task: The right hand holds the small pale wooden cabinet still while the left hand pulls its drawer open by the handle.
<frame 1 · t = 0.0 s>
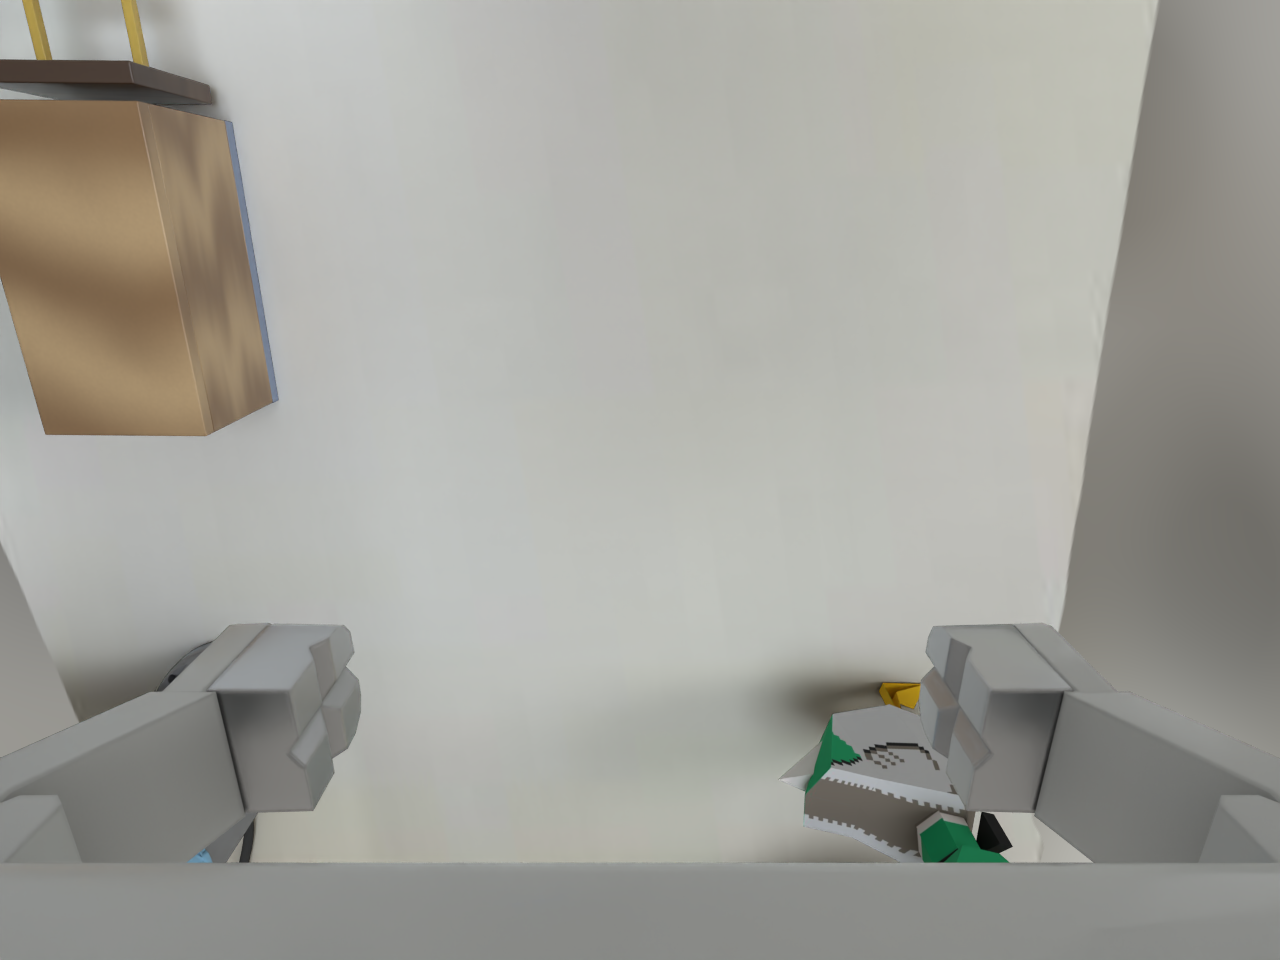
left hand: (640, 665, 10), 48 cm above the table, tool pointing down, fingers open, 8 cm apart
toy: (855, 703, 68), on the table
drawer: (122, 188, 48), point 5 cm above the table, slide at 1.0 cm
cabinet: (184, 269, 55), on the table
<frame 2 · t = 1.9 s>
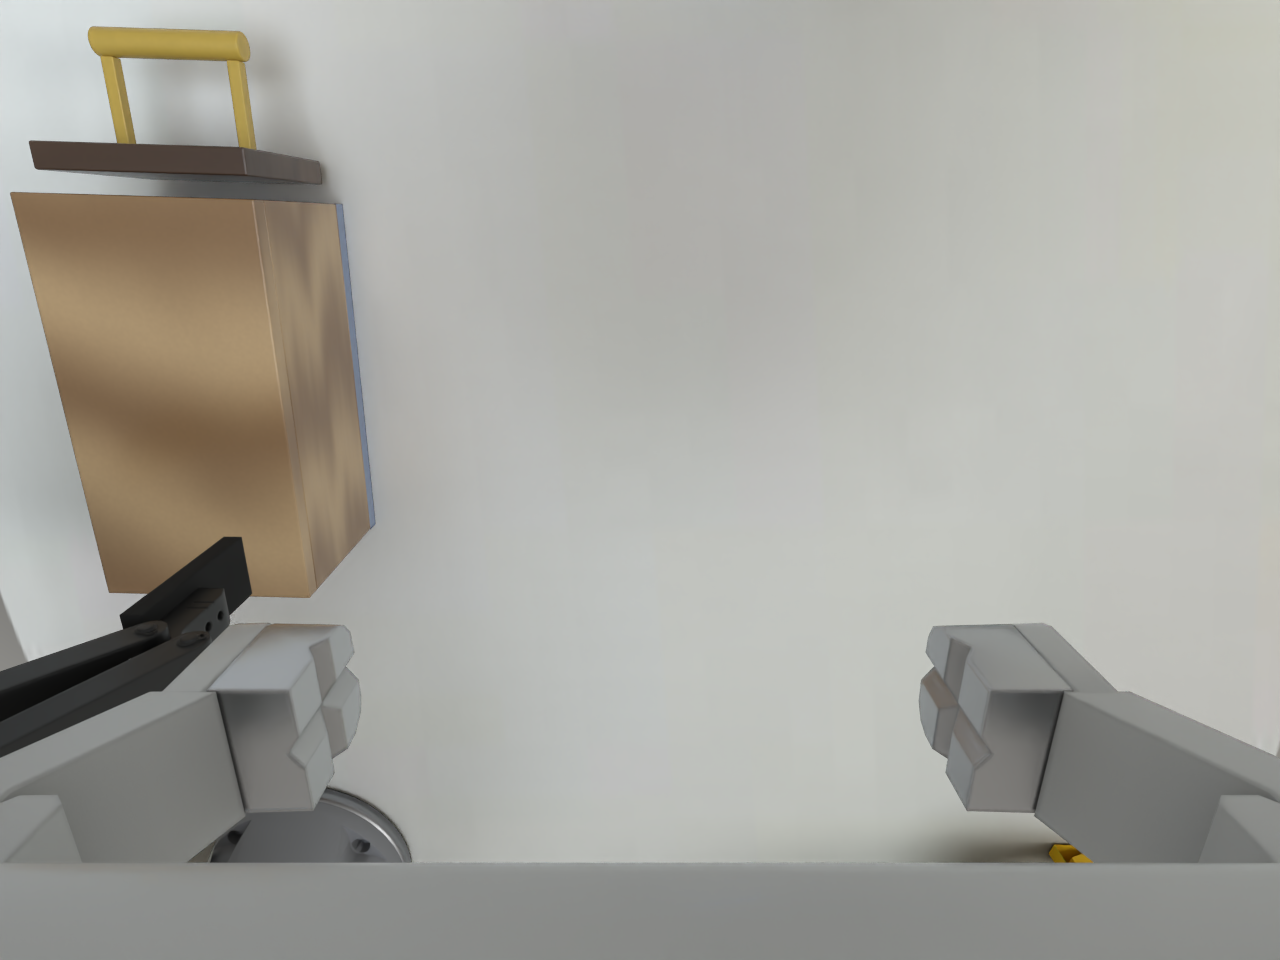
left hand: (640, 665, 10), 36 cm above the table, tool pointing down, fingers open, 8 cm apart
toy: (1019, 864, 59), on the table
drawer: (212, 290, 38), point 5 cm above the table, slide at 1.0 cm
cabinet: (273, 373, 45), on the table
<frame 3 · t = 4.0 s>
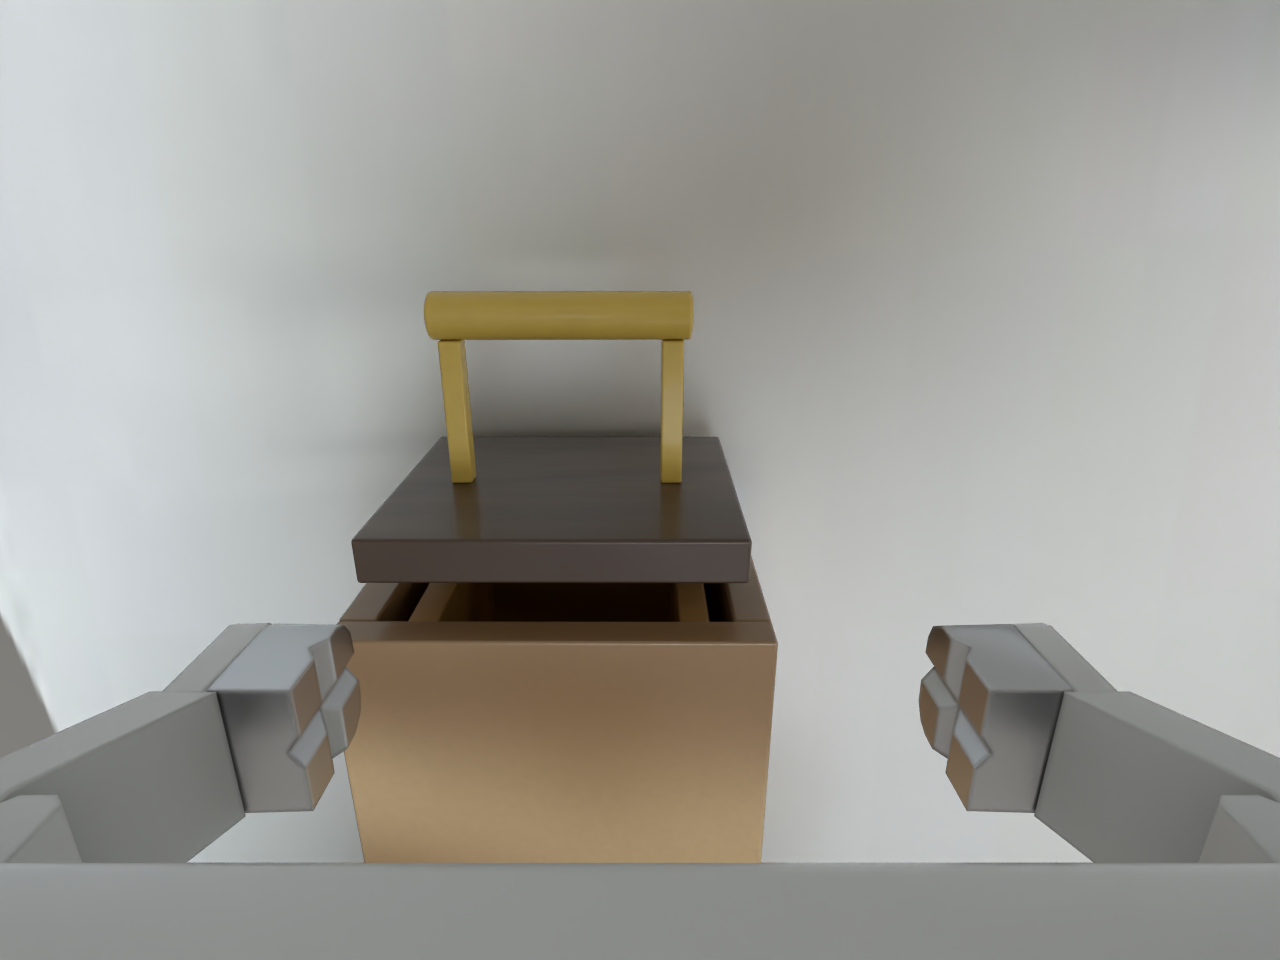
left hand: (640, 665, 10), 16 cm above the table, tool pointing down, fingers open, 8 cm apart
drawer: (575, 672, 23), point 5 cm above the table, slide at 1.0 cm
cabinet: (591, 708, 30), on the table, touching right hand
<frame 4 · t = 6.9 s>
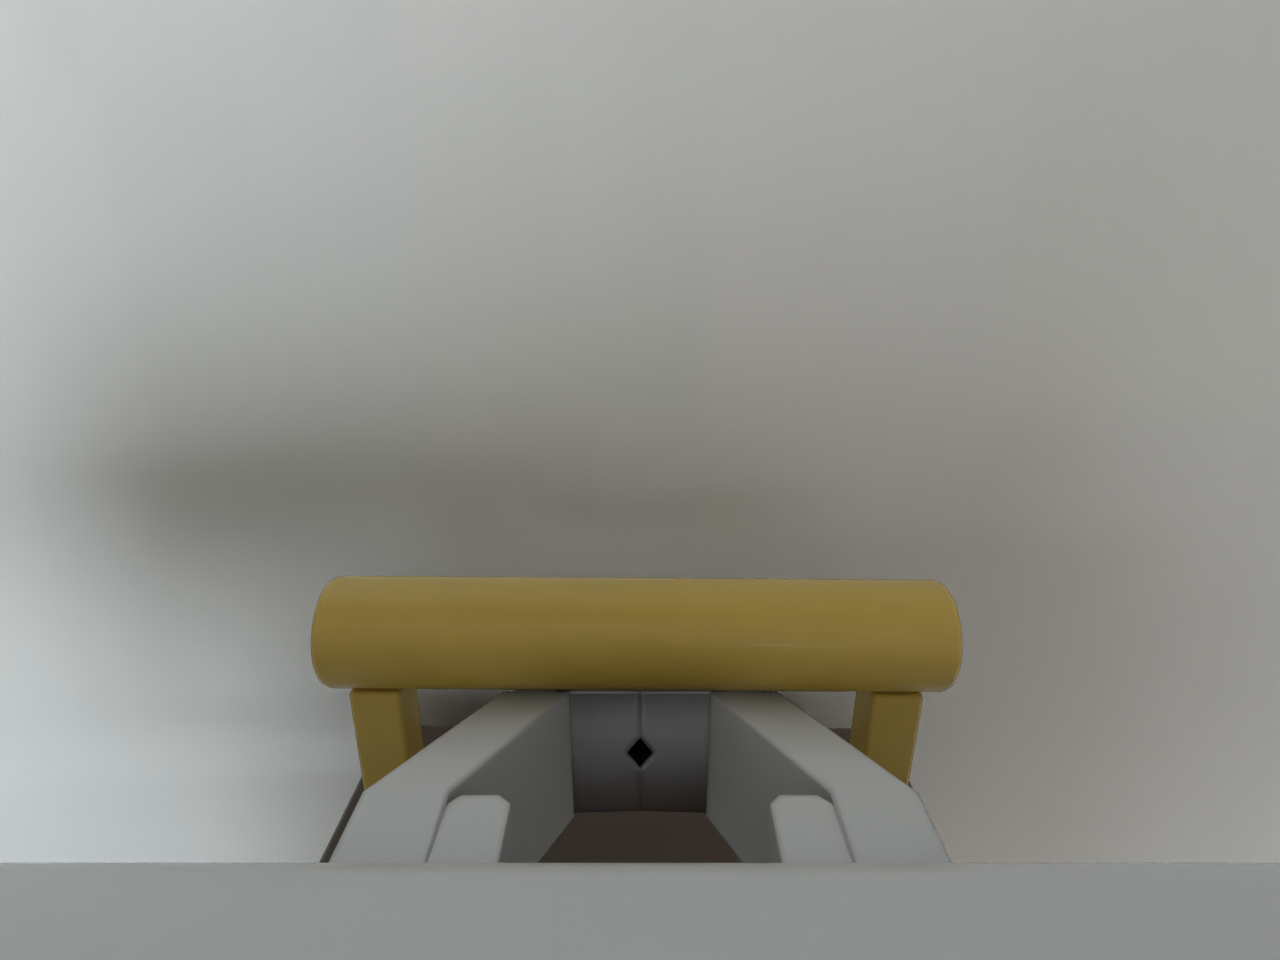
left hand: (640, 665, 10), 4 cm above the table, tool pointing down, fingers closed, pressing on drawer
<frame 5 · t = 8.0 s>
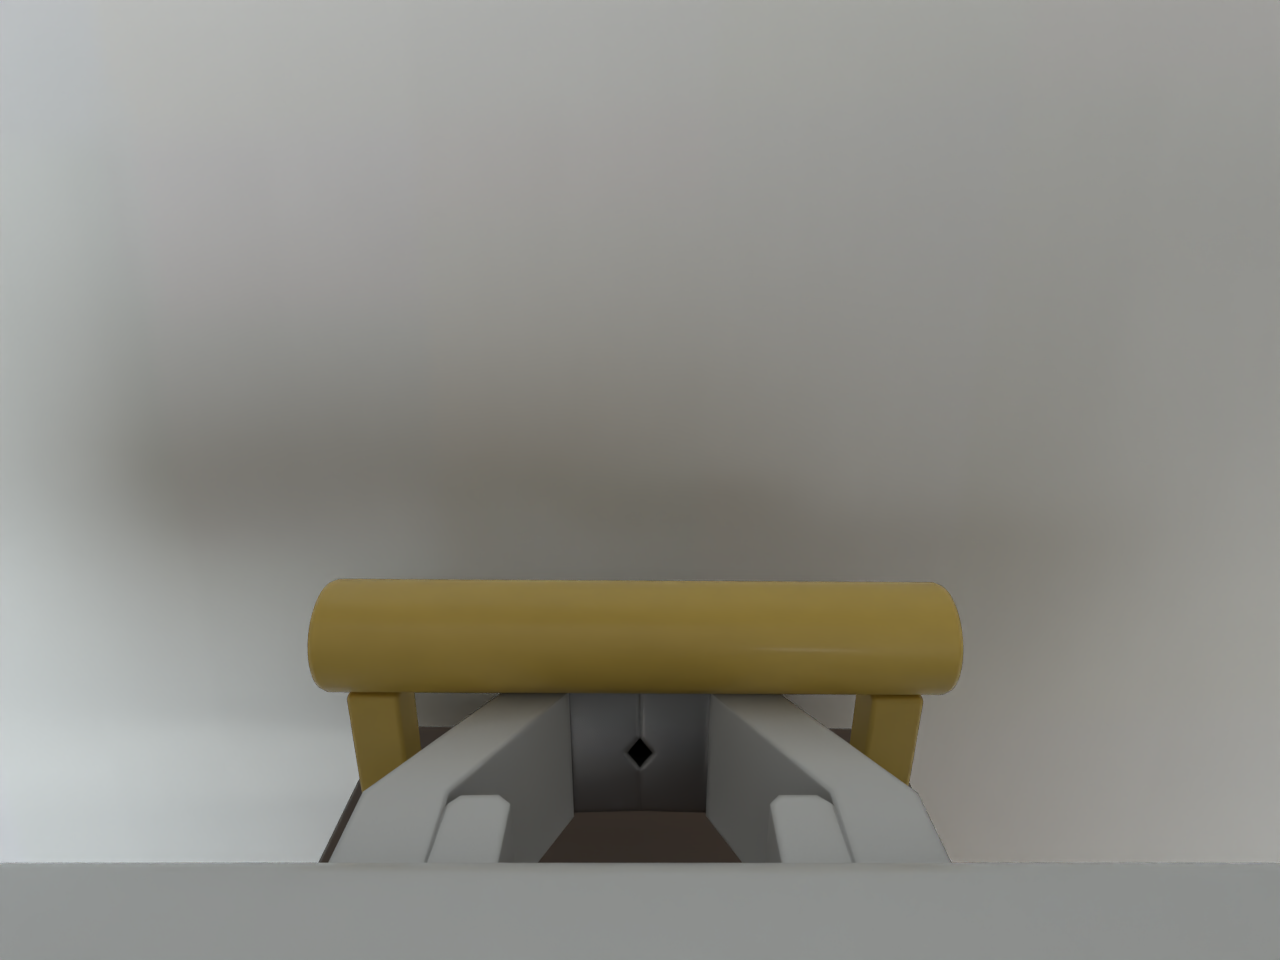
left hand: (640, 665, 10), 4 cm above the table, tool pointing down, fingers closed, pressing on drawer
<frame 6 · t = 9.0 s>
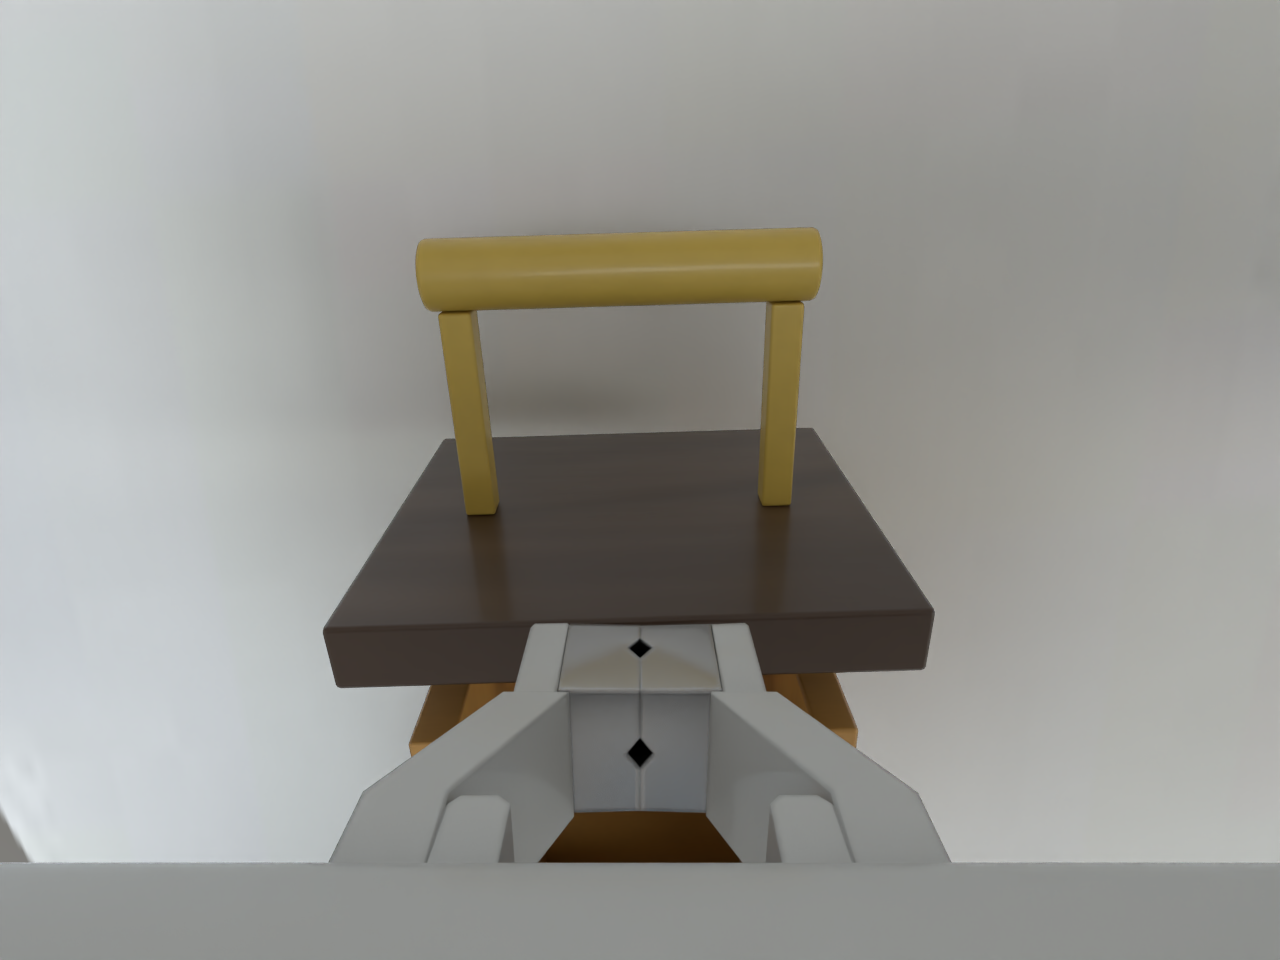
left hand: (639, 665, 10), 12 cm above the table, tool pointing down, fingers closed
drawer: (637, 748, 18), point 7 cm above the table, slide at 10.8 cm
when the right hand's fingers open (6 cm above the table, at t = 9.9 s): cabinet stays where it is, on the table.
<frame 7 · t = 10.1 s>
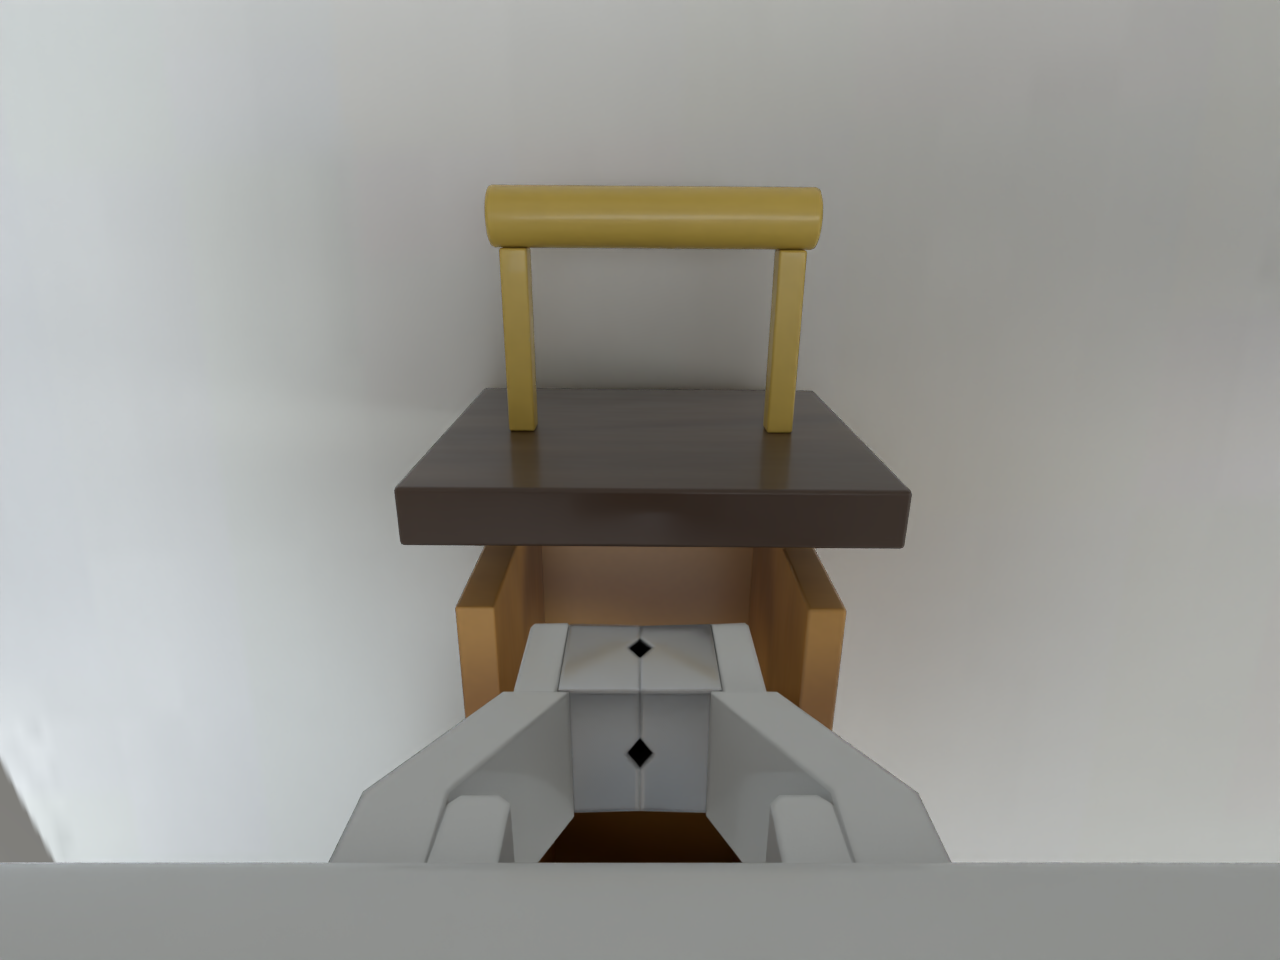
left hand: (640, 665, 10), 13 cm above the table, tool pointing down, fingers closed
drawer: (647, 669, 19), point 5 cm above the table, slide at 10.8 cm
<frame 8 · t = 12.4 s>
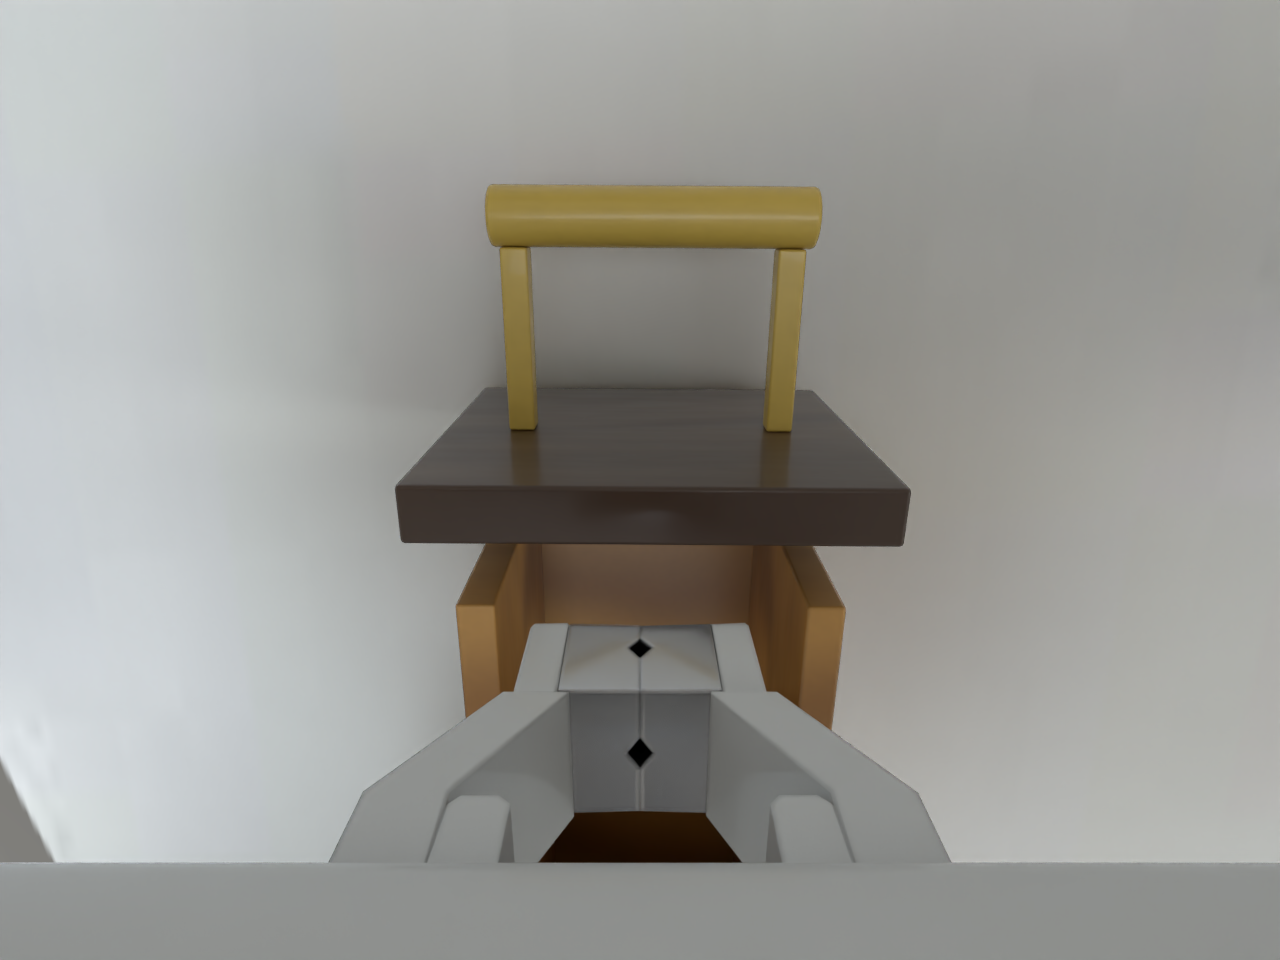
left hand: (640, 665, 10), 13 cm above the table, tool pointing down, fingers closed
drawer: (647, 668, 20), point 5 cm above the table, slide at 10.8 cm
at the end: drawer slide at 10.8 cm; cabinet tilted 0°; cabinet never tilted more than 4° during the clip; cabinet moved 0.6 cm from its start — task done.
